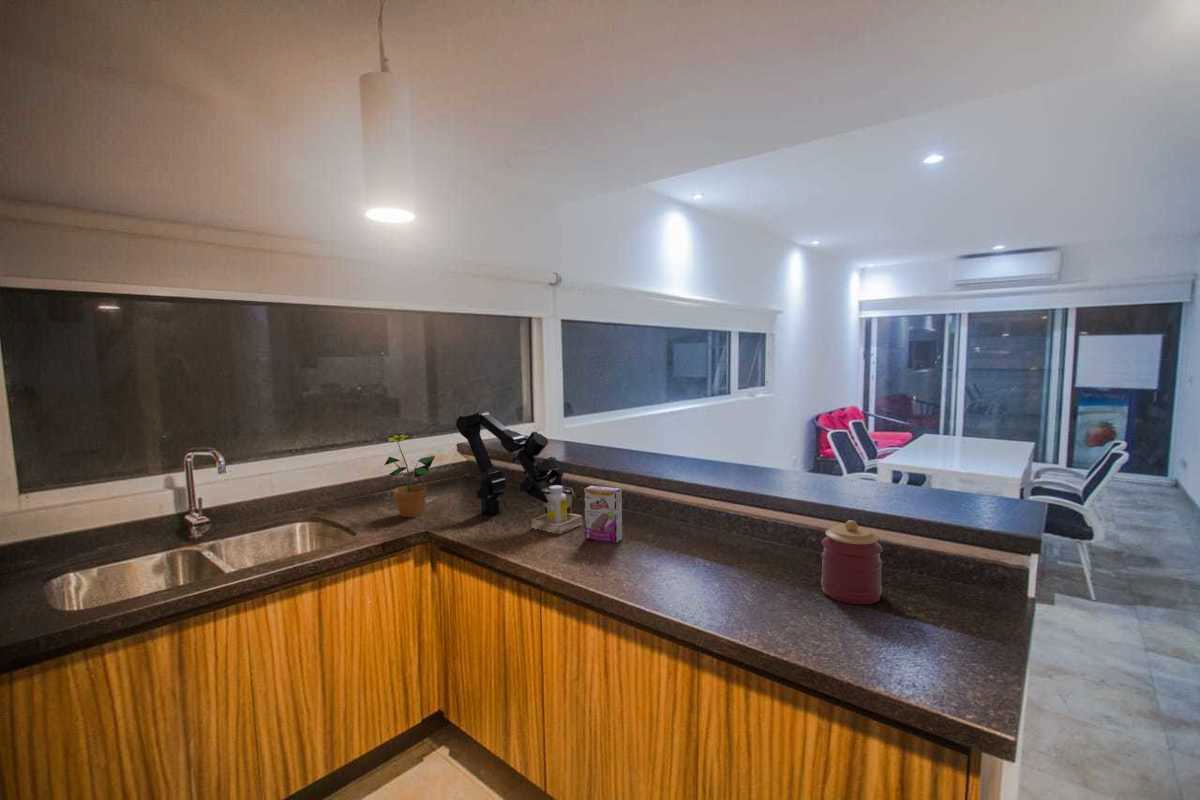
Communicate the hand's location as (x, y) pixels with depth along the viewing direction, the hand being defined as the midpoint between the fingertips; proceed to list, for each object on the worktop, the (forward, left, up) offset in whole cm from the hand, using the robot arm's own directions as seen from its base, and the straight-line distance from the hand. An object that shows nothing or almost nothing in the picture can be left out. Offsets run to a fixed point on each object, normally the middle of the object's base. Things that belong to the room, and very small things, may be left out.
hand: (555, 499), depth 182 cm
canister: (+85, -39, -10) cm, 94 cm away
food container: (-3, +13, -10) cm, 17 cm away
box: (0, 0, -9) cm, 9 cm away
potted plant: (-58, +4, -10) cm, 59 cm away
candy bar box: (+19, -11, -10) cm, 24 cm away
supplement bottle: (0, 0, -9) cm, 9 cm away
